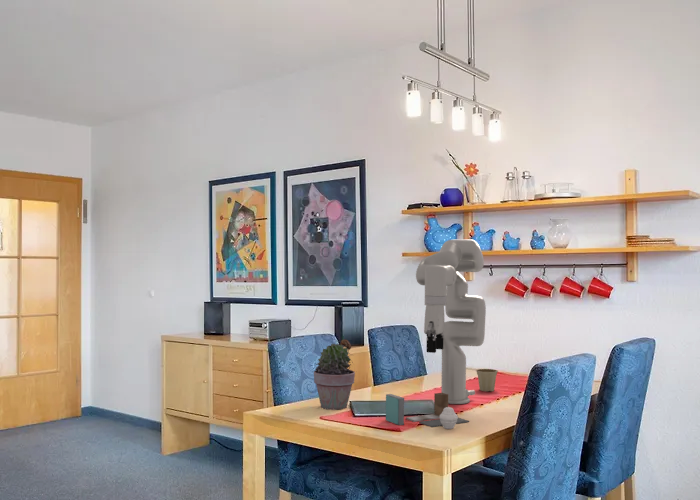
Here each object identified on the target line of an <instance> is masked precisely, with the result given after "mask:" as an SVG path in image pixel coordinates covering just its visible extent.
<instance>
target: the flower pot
mask: <svg viewBox="0 0 700 500" xmlns="http://www.w3.org/2000/svg"><path fill="white" fill-rule="evenodd" d="M475 372H476V374H477V379H478V386H479V387H478V388H479V391H482V392H494V391H495V389H496V380H497V375H498V373H499V370H498V369H492V368H478V369H476V370H475Z"/></svg>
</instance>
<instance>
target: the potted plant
mask: <svg viewBox="0 0 700 500" xmlns="http://www.w3.org/2000/svg"><path fill="white" fill-rule="evenodd" d="M330 344H331V345H326V348H323V349H322V351H321V352H320V354H321V355H320V358H318V360H315V361H316V362H317V361H318V362H317V363H316V364H315V366H316V367H315V369H314V370H313V381H314V384H315V385H316V386H315V387H316V390H317V394H318V399H319V403H320V408H322V409H324V410H333V411H335V410H337V411H338V410H344V409H347V407H348V403H349V399H350V396H351V391H352V386H353V384H355V376H356V371H354V370H352V369H351V366H352V364H354V363H353V361H352V360H351V358H350V357H351V356H353V354H352V353H350V352H349V351H350V350H351V349H352V345H351V343H350V341H349V340H348V339H342V340H341V342H339V343H334V342H331V343H330ZM344 347H345V348H344ZM350 361H351V362H350ZM351 363H352V364H351Z"/></svg>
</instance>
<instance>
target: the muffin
mask: <svg viewBox="0 0 700 500" xmlns="http://www.w3.org/2000/svg"><path fill="white" fill-rule="evenodd" d="M458 418H459V417H458V415H457V413H456V412H455V410H454V408H453V407H450V406H448V407H446V408H444V409H443V412H442V413H441V414H440V416H439V419H440V421H441V423H442V425H443V426H442V427H443V429H445V430H452V429H454V427H455V426H456V425H457V424H456V422H457V419H458Z"/></svg>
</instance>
